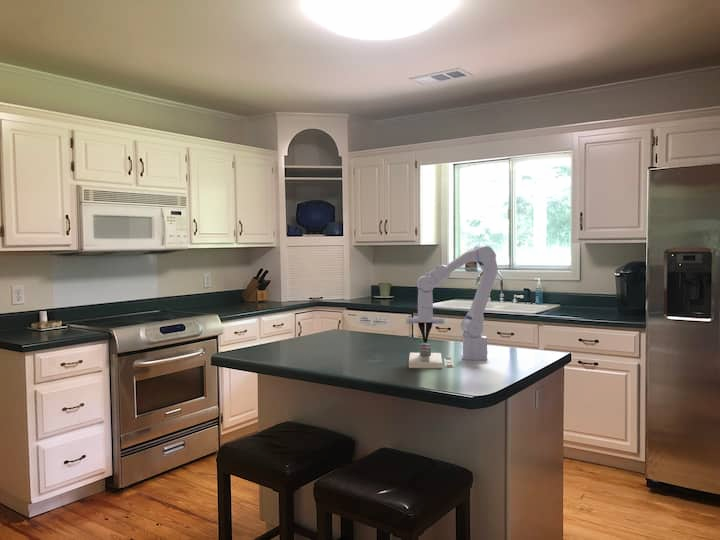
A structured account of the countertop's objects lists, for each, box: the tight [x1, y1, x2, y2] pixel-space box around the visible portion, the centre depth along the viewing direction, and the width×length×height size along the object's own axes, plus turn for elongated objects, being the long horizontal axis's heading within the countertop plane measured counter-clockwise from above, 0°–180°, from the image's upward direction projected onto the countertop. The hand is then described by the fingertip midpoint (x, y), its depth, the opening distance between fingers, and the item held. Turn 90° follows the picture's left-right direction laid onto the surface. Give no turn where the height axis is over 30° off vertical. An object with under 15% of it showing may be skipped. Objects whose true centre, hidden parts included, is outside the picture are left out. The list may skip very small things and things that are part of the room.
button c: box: [419, 349, 432, 362], centre depth 213 cm, size 4×4×4 cm
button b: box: [419, 346, 432, 351], centre depth 219 cm, size 4×4×4 cm
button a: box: [419, 343, 432, 348], centre depth 225 cm, size 4×4×4 cm
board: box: [408, 352, 443, 369], centre depth 219 cm, size 12×18×2 cm, turn 174°
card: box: [443, 357, 455, 368], centre depth 219 cm, size 3×14×1 cm, turn 173°
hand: (425, 342), depth 225 cm, fingers closed
